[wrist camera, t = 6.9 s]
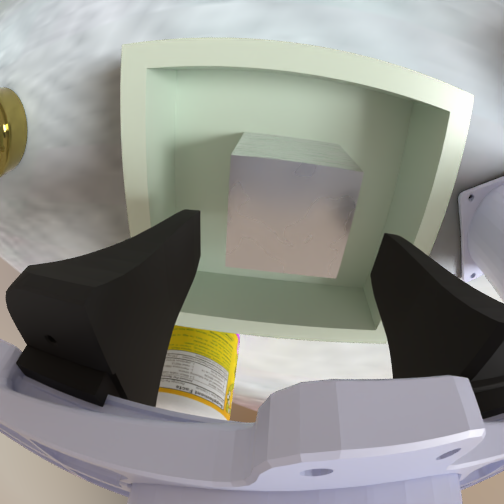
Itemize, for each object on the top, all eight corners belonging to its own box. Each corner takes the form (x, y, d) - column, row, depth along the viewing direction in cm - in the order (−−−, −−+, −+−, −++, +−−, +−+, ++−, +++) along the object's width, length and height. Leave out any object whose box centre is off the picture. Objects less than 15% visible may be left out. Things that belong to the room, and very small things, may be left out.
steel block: (338, 144, 15) (363, 172, 10) (322, 226, 17) (336, 278, 13) (244, 132, 15) (230, 154, 10) (238, 216, 17) (225, 266, 13)
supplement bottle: (210, 359, 27) (184, 487, 16) (150, 322, 25) (99, 454, 14) (258, 327, 24) (244, 483, 13) (192, 280, 22) (137, 446, 11)
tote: (426, 87, 13) (474, 95, 9) (369, 293, 21) (385, 343, 17) (163, 51, 13) (122, 44, 9) (168, 271, 21) (145, 319, 17)
